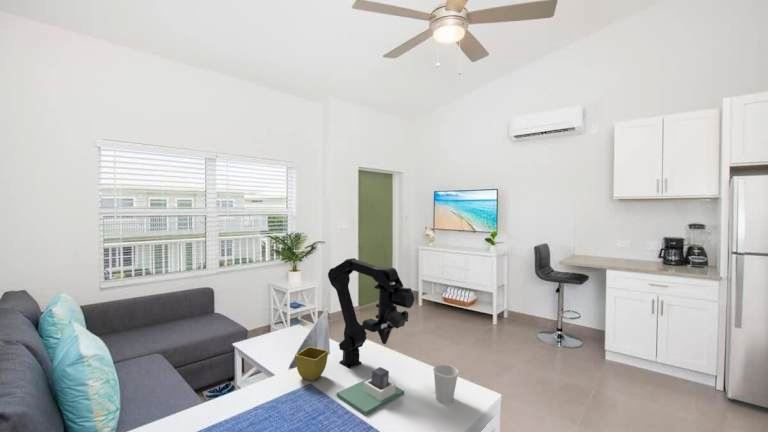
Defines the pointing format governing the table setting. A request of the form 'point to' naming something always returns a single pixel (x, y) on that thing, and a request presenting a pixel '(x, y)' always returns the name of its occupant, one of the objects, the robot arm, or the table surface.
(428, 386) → the table surface
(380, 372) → the plug
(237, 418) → the table surface
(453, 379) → the dixie cup
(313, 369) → the flower pot
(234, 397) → the table surface
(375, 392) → the board
